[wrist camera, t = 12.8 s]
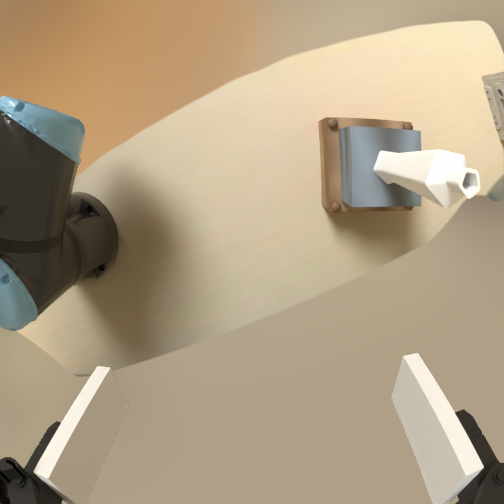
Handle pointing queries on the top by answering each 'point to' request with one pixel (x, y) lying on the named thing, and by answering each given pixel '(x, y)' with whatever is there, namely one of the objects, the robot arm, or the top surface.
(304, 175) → the top surface
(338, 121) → the blue block on board
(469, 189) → the perfume bottle
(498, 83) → the cassette
